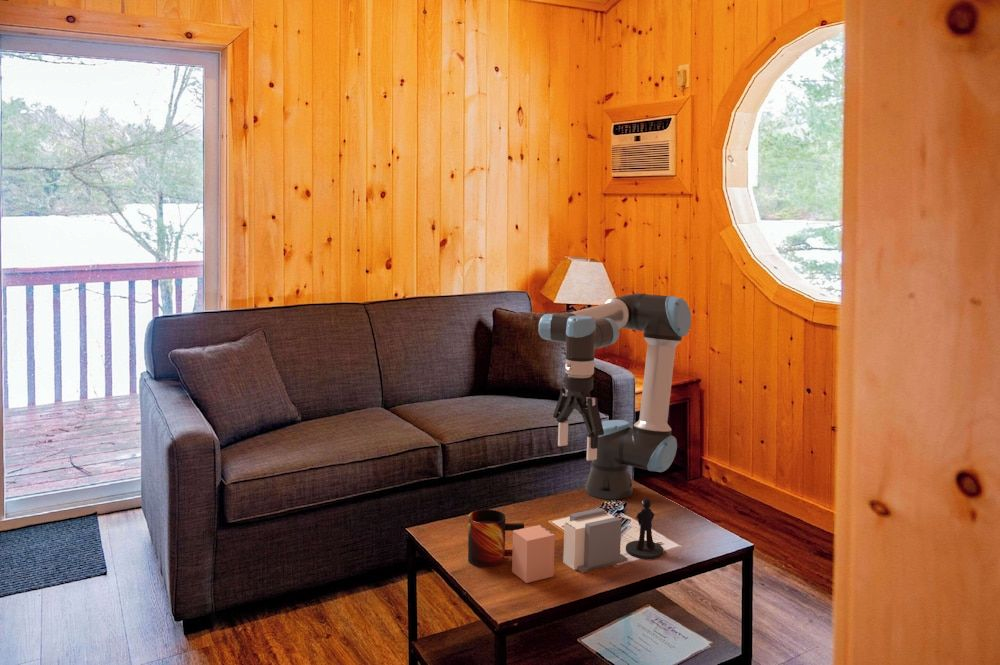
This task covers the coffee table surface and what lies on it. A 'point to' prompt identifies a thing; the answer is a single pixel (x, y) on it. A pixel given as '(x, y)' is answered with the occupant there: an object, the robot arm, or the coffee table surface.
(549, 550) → the stub
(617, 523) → the two-tone box
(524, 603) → the coffee table surface
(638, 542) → the figurine
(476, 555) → the mug
